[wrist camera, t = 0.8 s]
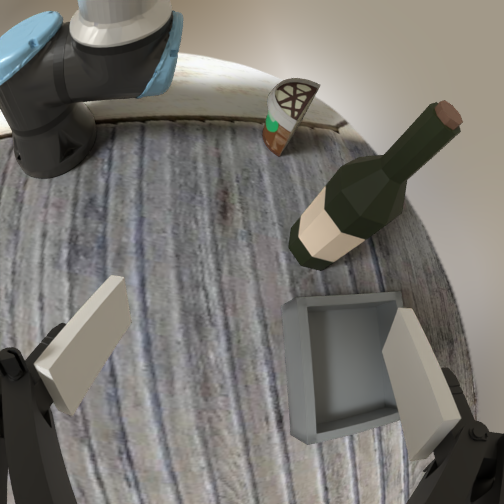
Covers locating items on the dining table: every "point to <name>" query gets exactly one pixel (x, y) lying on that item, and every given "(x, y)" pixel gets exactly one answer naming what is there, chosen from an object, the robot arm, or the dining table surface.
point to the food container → (286, 111)
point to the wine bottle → (369, 191)
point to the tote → (338, 364)
